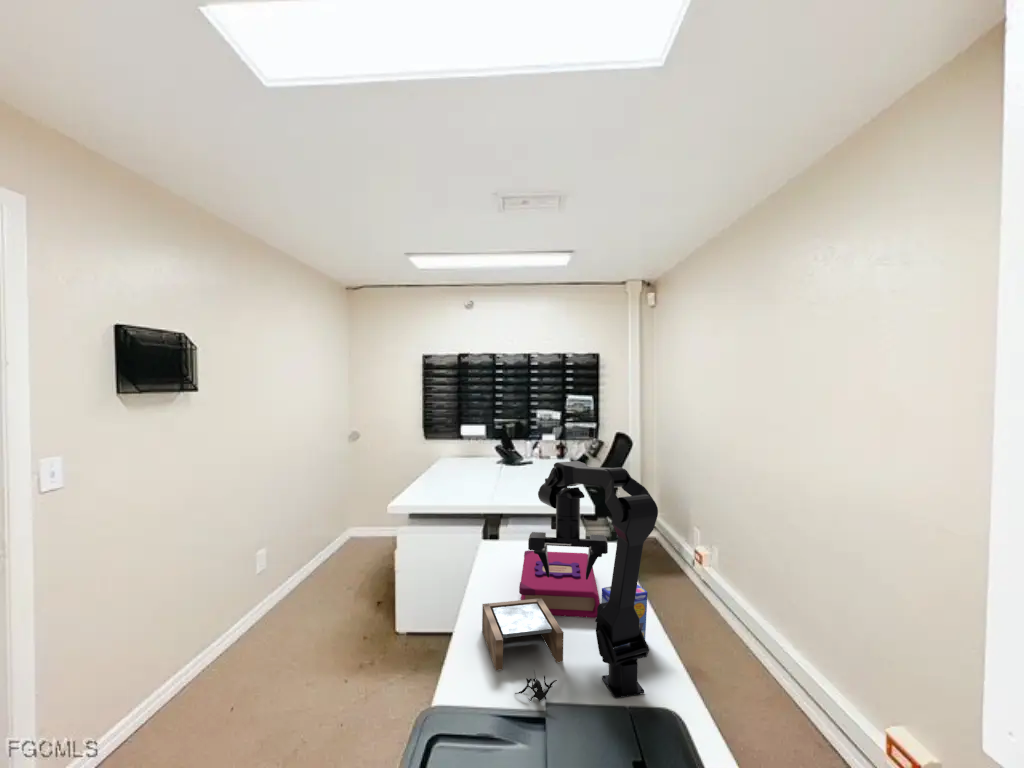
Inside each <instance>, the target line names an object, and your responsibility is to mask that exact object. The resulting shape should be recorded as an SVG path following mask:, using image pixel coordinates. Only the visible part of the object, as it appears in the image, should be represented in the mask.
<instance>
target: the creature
mask: <svg viewBox="0 0 1024 768" xmlns="http://www.w3.org/2000/svg"><path fill="white" fill-rule="evenodd" d="M533 671H534V673H533V674H534V677H533V678H528V677H527V678H526V679H525V680H526V686H525V687H524V688H523V689H522V690H520V691H519V692H515V693H514V694H518V695H519V694H522V693H523V694H524V693H525V692H526V691H527V690H528V688H529V689H530V690H532V692H533V693H534V694H533V695H532V696H531V697H530V698H529V697H527V699H528V701H529V700H530V701H531V702H532V700H533V699H534V698H535V699H536V700H538V703H540V702H541V701H542V700H547V695H548V693H549V691H550V690H551V688H553V684H555V682H558V680H557V679H555V680H553V681H551V682H550V684H547V682H546V681H547V680H546V679H547V678H546V675H543V683H544V686H545V687H546V688H545V689H544V688H543V686H542V684H541V681H540V680H538V679H537V677H536V672H535V670H533ZM530 684H531V685H530ZM530 701H529V702H530Z"/></svg>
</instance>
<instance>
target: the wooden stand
mask: <svg viewBox="0 0 1024 768" xmlns="http://www.w3.org/2000/svg"><path fill="white" fill-rule="evenodd" d="M528 604H537V605H538V607H539V608H540V610H541V612H542V613H543V615H544V617H545V618H546V620H547V621H548V623H549V625H550V626H551V628H552V632H551V633H542V634H540V635H542V636H541V637H542V640H543V641H544V640H545V641H544V643H545V642H546V643H545V645H546V644H547V645H546V646H547V648H548V650H549V652H550V653H552V654H551V655H552V657H553V659H554V661H555V662H556V663H563V662H564V630H562V628H561V626H560V624H559V623H558V622H557V620H556V619H555V616H553V615H552V614H551V612H550V611H549V609H548V608H547V606H546V604H545V603H544V601H543V600H542V598H538V599H528V600H521V599H520V600H509V601H500V602H488V603H482V607H481V608H482V619H481V623H482V624H481V627H482V628H481V630H482V633H483V637H484V639H485V643H486V645H487V648H488V652H489V655H490V657H491V660H492V664H493V665H494V666H493V668H494V669H495V671H496V672H497V671H501V670H502V671H503V669H504V667H503V666H504V665H503V664H504V638H503V636H502V633H501V632H500V628H499V626H498V624H497V621H496V619H495V616H494V614H493V608H498V607H508V606H518V605H528Z"/></svg>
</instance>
